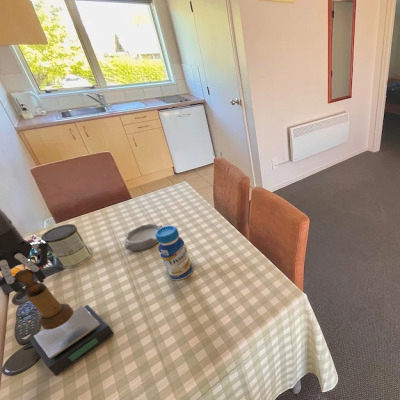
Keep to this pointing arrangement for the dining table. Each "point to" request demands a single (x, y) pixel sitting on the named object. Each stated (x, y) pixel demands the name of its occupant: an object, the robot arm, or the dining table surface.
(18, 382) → the dining table surface
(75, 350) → the scale
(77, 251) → the coffee can
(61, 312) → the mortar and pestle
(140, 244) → the dish
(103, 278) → the dining table surface
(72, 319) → the scale pan
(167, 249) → the beverage bottle
